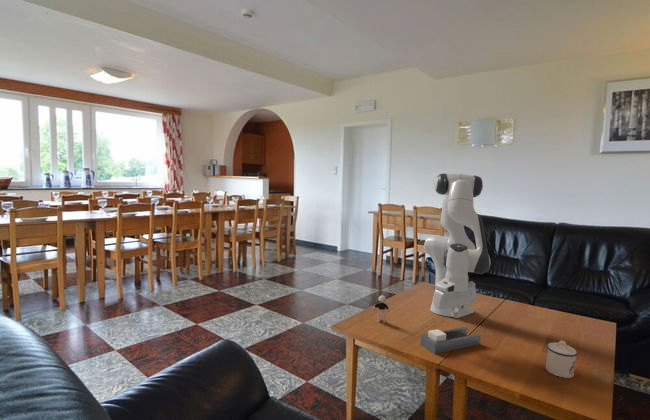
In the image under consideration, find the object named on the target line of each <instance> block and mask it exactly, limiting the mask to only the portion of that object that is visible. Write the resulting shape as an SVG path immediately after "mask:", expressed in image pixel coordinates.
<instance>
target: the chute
mask: <svg viewBox="0 0 650 420" xmlns="http://www.w3.org/2000/svg"><path fill="white" fill-rule="evenodd" d="M441 331H442V332H444V333H445V334H446V340H444V341H439V342H435V341H433V340H432V339H430V338H429V337H428V333H425V334H421V335H420V345H421V346H422V347H424V348H425V349H427V350H428V351H429V352H431V353H432V354H434V355H437V354H442V353H447V352H452V351H456V350H461V349H465V348H471V347H475V346H479V344H481V336H482V335H481V334H479V333H477V334H476V333H475V334H470V335H468V327H466V326H463V327H458V328H457V327H456V328H451V329H447V330H441Z"/></svg>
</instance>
